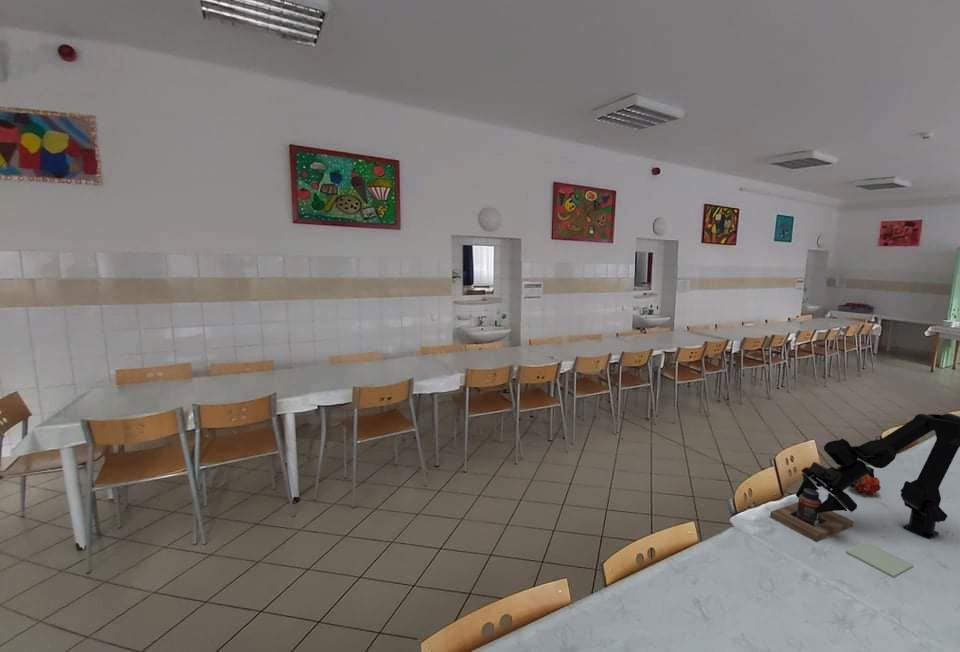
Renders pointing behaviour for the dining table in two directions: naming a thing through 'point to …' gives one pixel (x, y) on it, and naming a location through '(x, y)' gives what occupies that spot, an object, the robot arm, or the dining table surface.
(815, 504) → the supplement bottle
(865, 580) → the dining table surface
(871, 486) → the dragon fruit
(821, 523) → the socket board
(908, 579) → the dining table surface
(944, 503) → the dining table surface
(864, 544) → the sage pad
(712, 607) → the dining table surface
